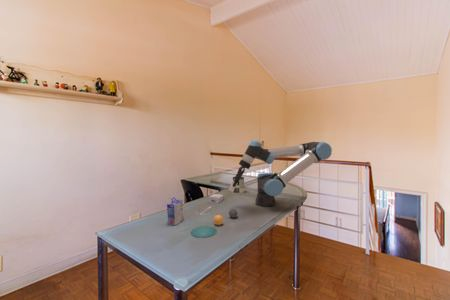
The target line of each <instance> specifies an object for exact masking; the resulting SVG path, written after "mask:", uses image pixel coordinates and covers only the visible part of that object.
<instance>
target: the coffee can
mask: <svg viewBox="0 0 450 300" xmlns="http://www.w3.org/2000/svg"><path fill="white" fill-rule="evenodd" d="M234 178H235V176H232V181H233V180H234ZM232 194H235V195H244V194H245V177H244V176H241V178H240V180H239V182H238V183H237V185H236V187H235V189H234V191H233V192H232Z"/></svg>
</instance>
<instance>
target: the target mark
mask: <svg viewBox="0 0 450 300" xmlns="http://www.w3.org/2000/svg"><path fill="white" fill-rule="evenodd" d="M217 232H218V230H217V229H216V228H215V227H214V226H209V225H203V226H202V225H201V226H195V227H194V228H192V229H191V230H190V235H191V236H193V237H194V238H198V239H199V238H201V239H205V238H210V237H213V236H215V235H216V234H217Z"/></svg>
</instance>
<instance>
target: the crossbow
mask: <svg viewBox="0 0 450 300" xmlns="http://www.w3.org/2000/svg"><path fill="white" fill-rule="evenodd" d="M210 209H212V206H211V205H210V206H209V207H206V208H205V209H203V211H202V212H200V213H198V212H197V211H195V213H196V214H197V215H199V216H205V215H206V216H207V215H211V214H213V212H209V213H206V212H208V211H210ZM199 210H202V209H199Z"/></svg>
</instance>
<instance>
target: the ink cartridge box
mask: <svg viewBox="0 0 450 300" xmlns="http://www.w3.org/2000/svg"><path fill="white" fill-rule="evenodd" d="M170 200H171V202H169V203H167V204H166V209H167V224H168V225H171V226H177V224H179V223H180V222H182V221H183V220H184V202H183V200H182V199H176V198H175V197H172V198H170Z"/></svg>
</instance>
